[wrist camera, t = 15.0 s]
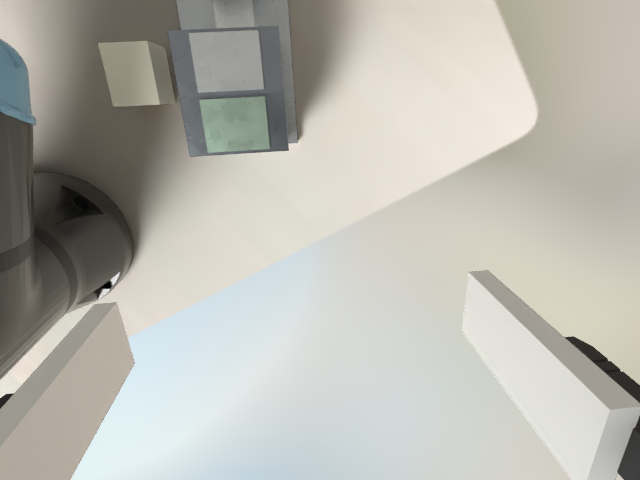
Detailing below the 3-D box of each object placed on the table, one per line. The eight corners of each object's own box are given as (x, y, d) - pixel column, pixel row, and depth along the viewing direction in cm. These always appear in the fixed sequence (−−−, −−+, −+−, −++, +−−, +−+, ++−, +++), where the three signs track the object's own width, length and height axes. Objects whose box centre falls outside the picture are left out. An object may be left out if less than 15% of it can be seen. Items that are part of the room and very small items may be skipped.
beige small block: (134, 105, 37) (113, 107, 32) (122, 49, 35) (97, 42, 30) (175, 103, 37) (159, 104, 32) (165, 47, 35) (147, 40, 31)
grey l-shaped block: (203, 147, 39) (177, 164, 30) (160, -107, 31) (109, -190, 22) (297, 141, 39) (301, 156, 30) (279, -110, 32) (277, -191, 22)
